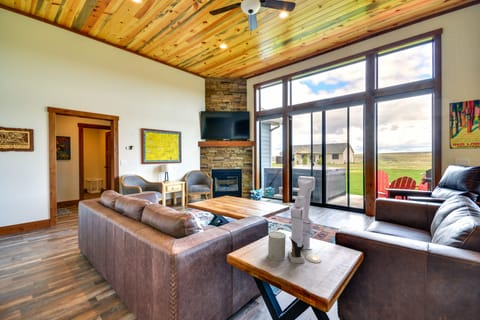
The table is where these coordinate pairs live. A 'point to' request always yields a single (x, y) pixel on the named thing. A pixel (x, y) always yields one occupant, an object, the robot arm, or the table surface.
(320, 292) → the table surface
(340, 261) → the table surface
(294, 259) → the pocket
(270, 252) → the grey cylinder
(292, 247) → the walnut block
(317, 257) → the coaster
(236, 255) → the table surface
